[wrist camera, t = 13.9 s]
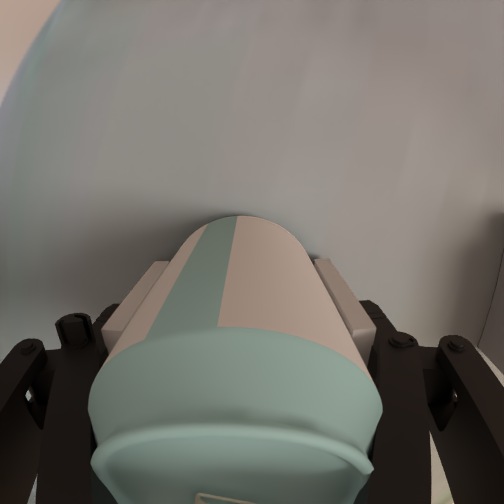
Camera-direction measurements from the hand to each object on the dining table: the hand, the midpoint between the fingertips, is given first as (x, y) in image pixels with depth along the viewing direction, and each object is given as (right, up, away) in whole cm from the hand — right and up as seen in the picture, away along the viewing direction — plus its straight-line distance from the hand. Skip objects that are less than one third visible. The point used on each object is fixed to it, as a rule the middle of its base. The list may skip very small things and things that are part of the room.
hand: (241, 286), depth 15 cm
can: (0, 0, +1) cm, 1 cm away
